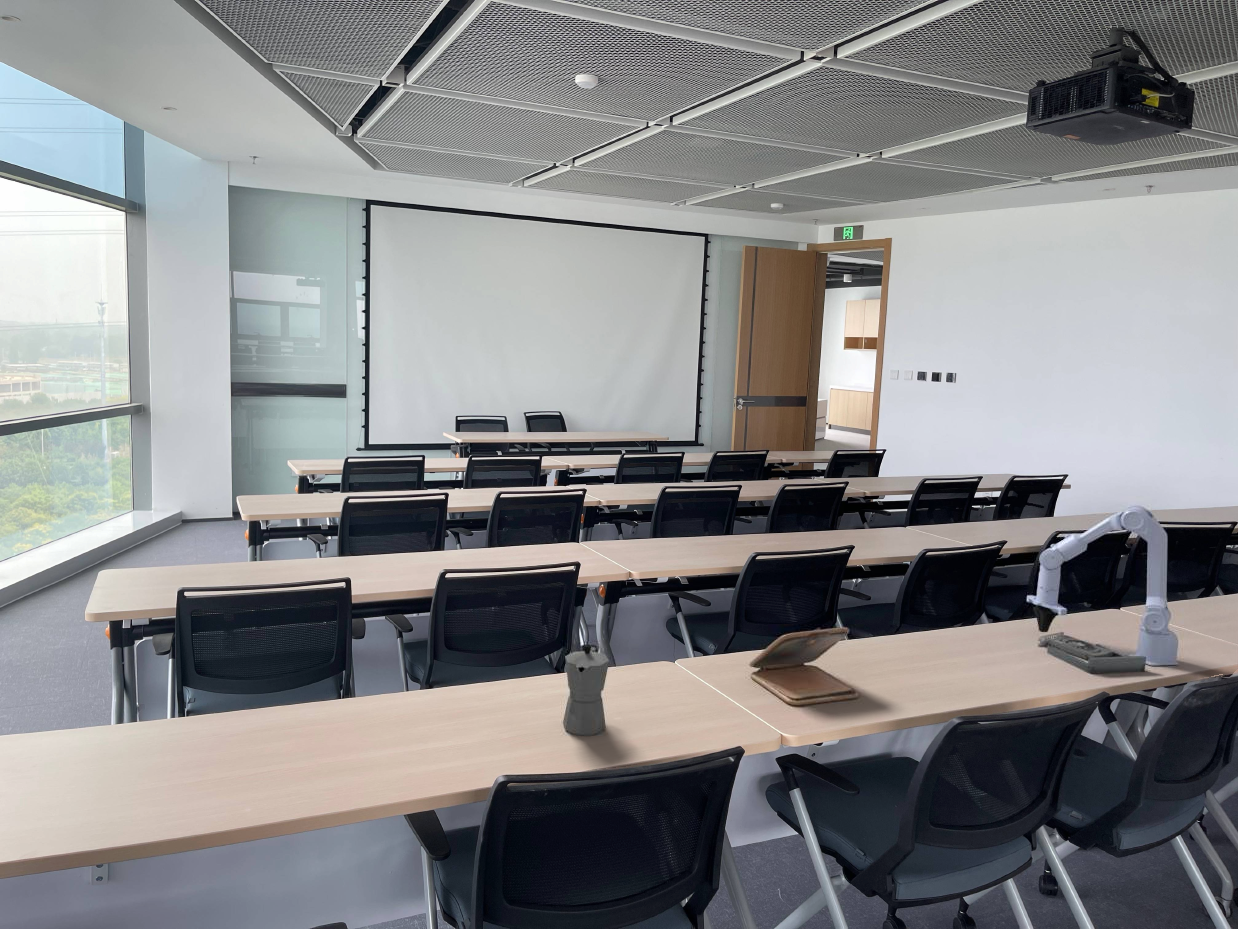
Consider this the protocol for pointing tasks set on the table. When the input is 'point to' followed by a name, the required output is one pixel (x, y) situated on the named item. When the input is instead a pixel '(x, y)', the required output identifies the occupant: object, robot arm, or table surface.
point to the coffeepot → (585, 691)
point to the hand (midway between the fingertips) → (1043, 631)
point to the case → (801, 668)
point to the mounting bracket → (1103, 662)
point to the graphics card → (1074, 646)
